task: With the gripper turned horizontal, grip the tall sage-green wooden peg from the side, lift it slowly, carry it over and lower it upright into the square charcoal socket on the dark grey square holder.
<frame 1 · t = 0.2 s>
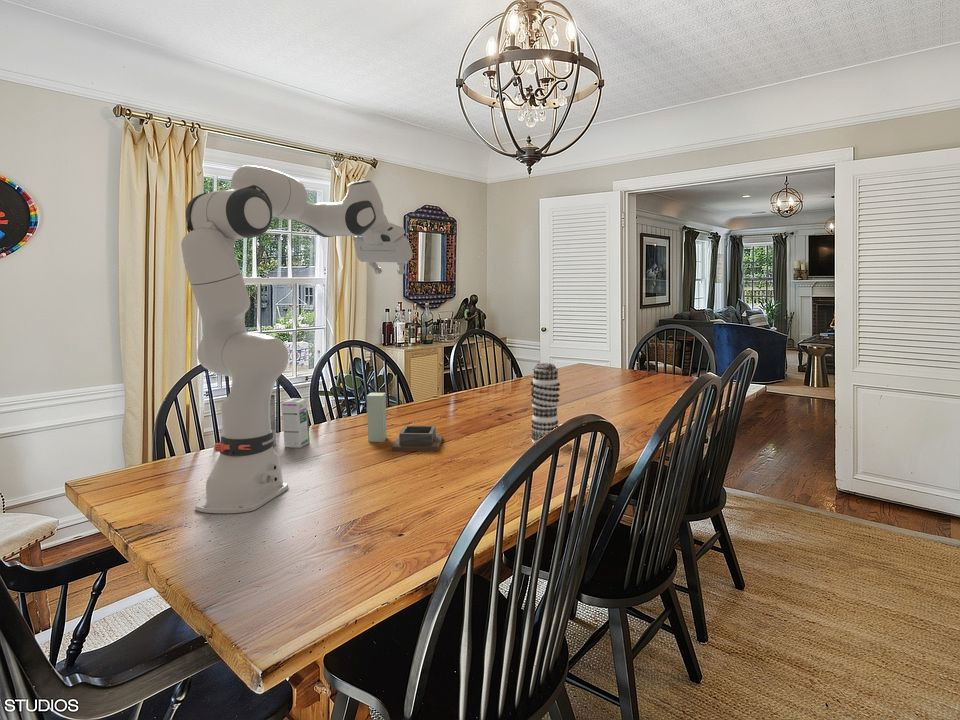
hand: (390, 273, 182), 53 cm above the table, tool tilted 25°, fingers open, 8 cm apart
dark grey square holder: (418, 444, 180), on the table
coffee box: (259, 445, 180), on the table
syrup box: (296, 445, 180), on the table
decorative candle: (544, 442, 183), on the table
sage peg: (377, 439, 186), on the table
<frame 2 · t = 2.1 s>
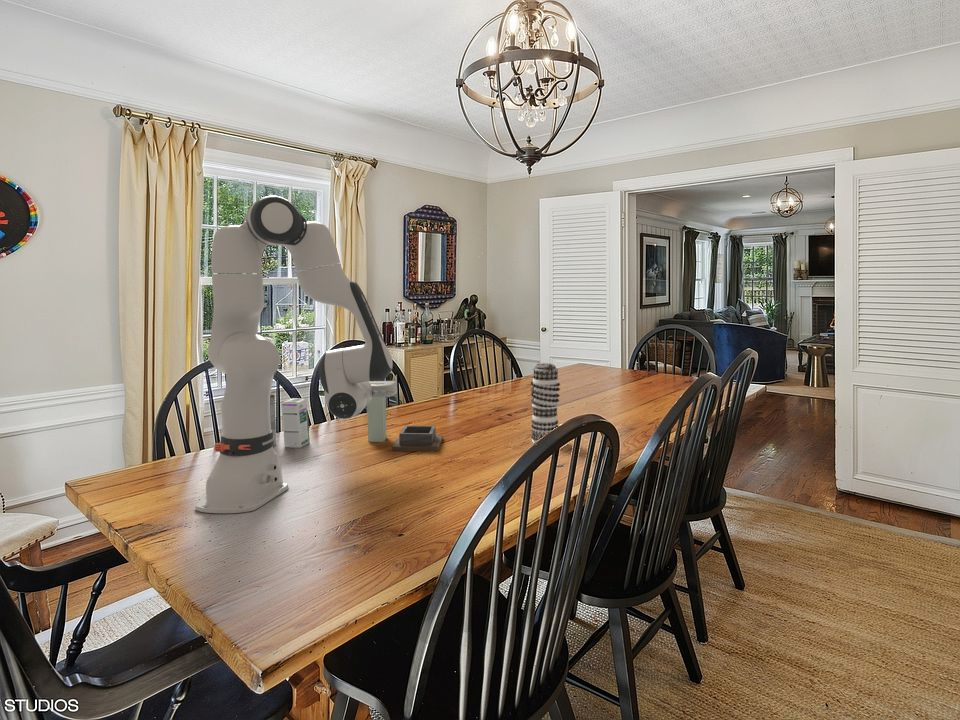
hand: (366, 384, 172), 20 cm above the table, tool horizontal, fingers open, 8 cm apart
nothing on the table moved.
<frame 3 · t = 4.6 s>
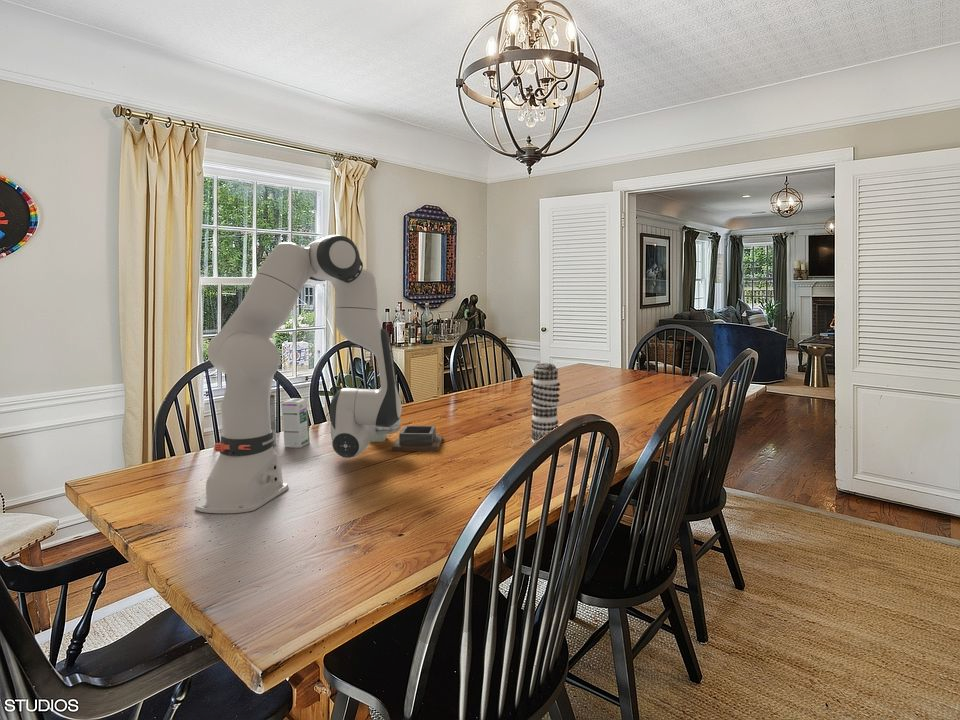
hand: (371, 418, 177), 9 cm above the table, tool horizontal, fingers open, 8 cm apart
nothing on the table moved.
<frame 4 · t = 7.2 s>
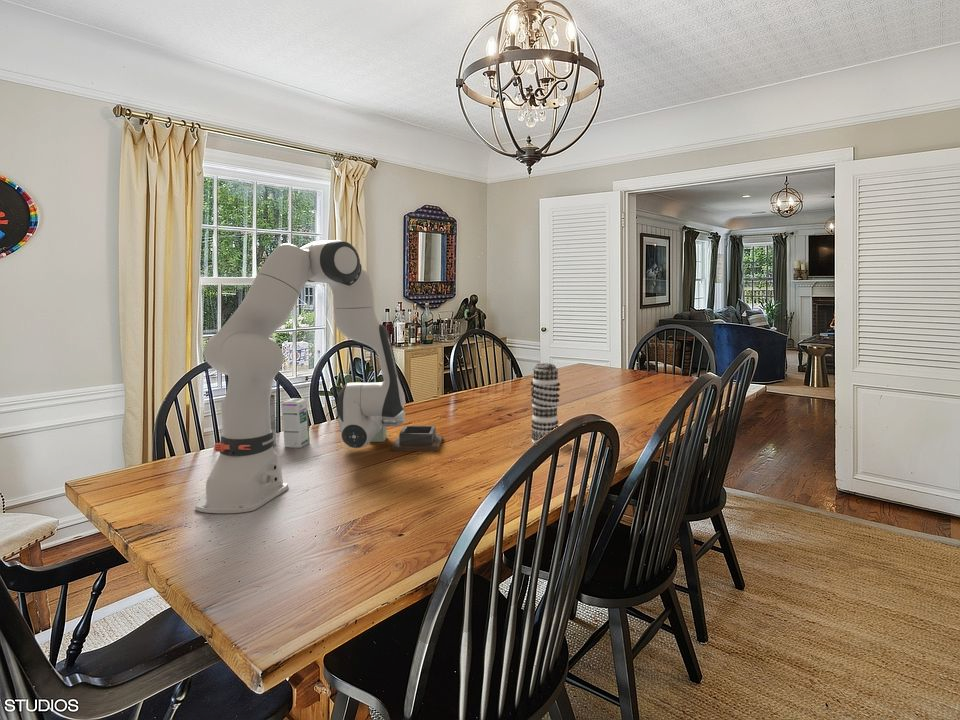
hand: (377, 411, 186), 9 cm above the table, tool horizontal, fingers closed on sage peg, 5 cm apart
sage peg: (377, 439, 186), on the table, touching gripper
everything else where it was.
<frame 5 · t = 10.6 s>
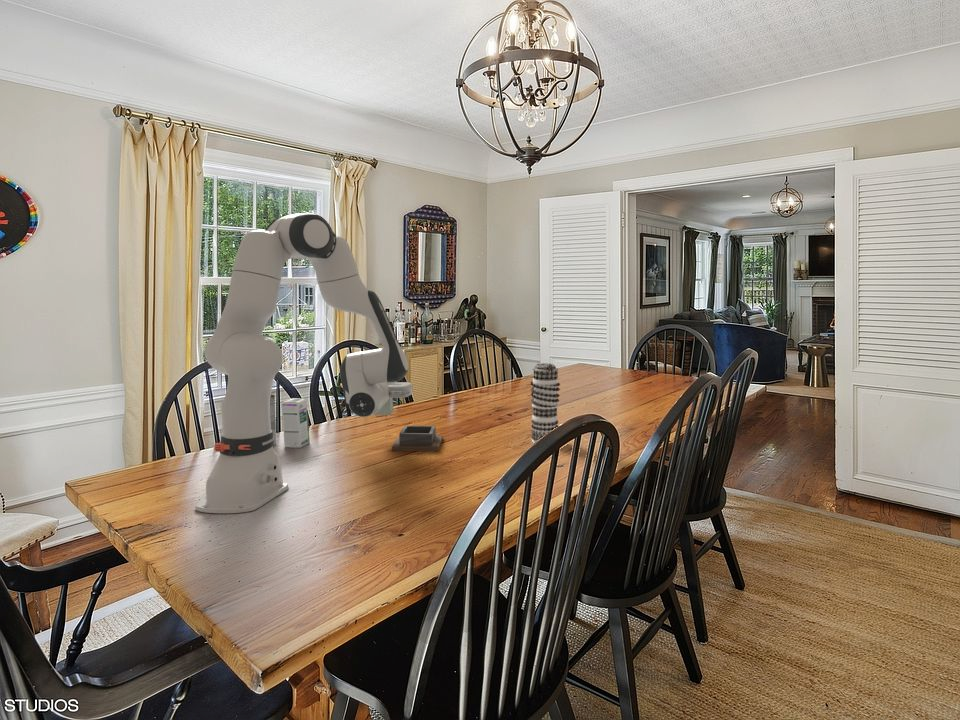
hand: (383, 384, 183), 18 cm above the table, tool horizontal, fingers closed on sage peg, 5 cm apart
sage peg: (383, 413, 184), point 9 cm above the table, touching gripper
everything else where it was.
when the fingers open (11 cm above the table, at t = 14.0 s): sage peg stays where it is, resting on dark grey square holder.
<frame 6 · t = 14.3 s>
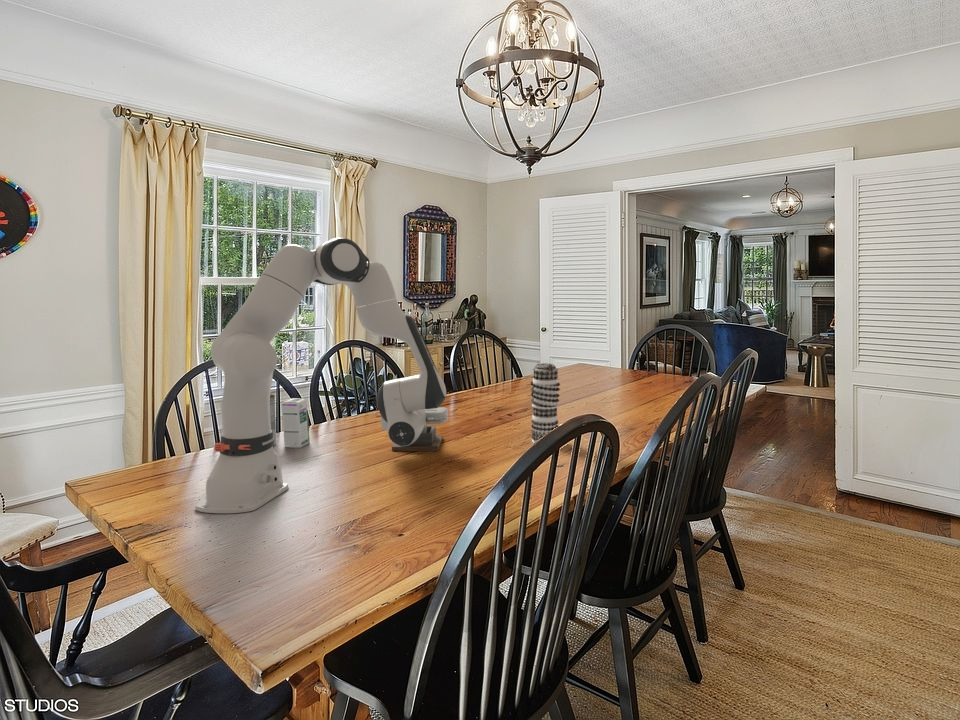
hand: (417, 409, 180), 11 cm above the table, tool horizontal, fingers open, 8 cm apart
sage peg: (417, 440, 180), point 1 cm above the table, touching dark grey square holder
everything else where it was.
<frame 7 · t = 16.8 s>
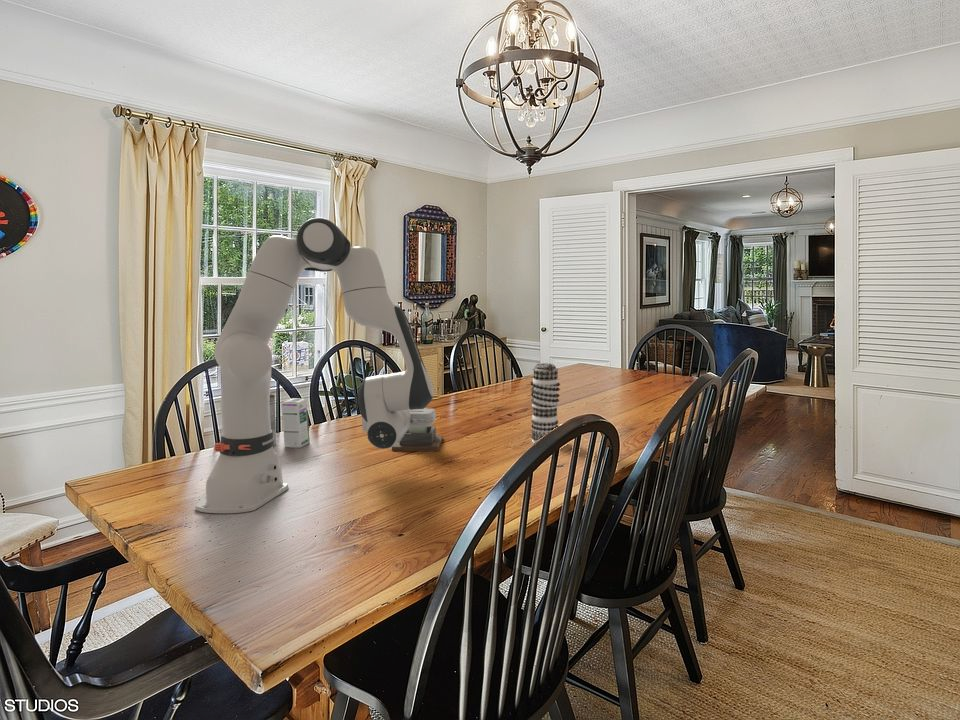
hand: (403, 409, 166), 14 cm above the table, tool horizontal, fingers open, 8 cm apart
nothing on the table moved.
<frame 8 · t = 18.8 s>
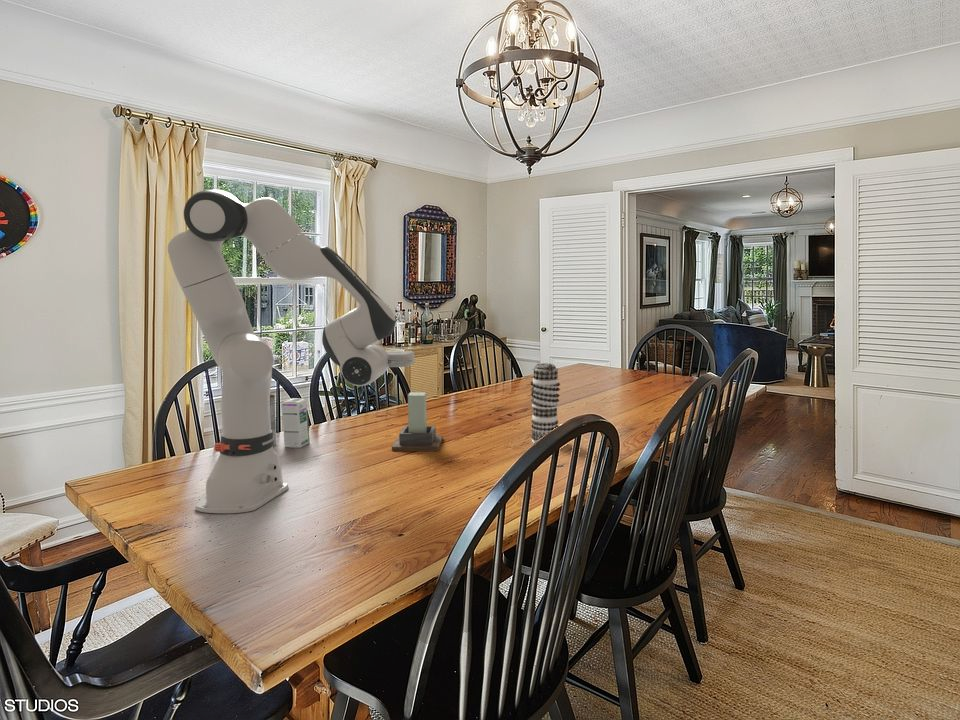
hand: (382, 354, 165), 30 cm above the table, tool horizontal, fingers open, 8 cm apart
nothing on the table moved.
at the end: sage peg 0.1 cm off-centre on the dark grey square holder, point 1.2 cm above the dark grey square holder's base; sage peg tilted 0°; the gripper is holding nothing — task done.
